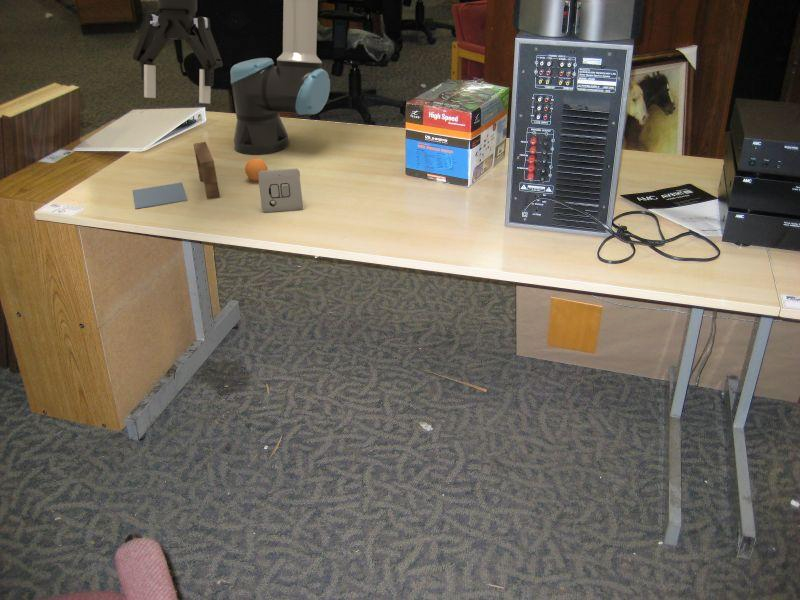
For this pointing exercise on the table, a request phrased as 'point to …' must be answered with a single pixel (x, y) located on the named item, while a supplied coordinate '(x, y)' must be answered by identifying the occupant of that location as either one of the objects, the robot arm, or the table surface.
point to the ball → (255, 168)
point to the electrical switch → (280, 190)
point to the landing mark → (159, 195)
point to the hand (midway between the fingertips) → (176, 100)
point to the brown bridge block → (206, 170)
